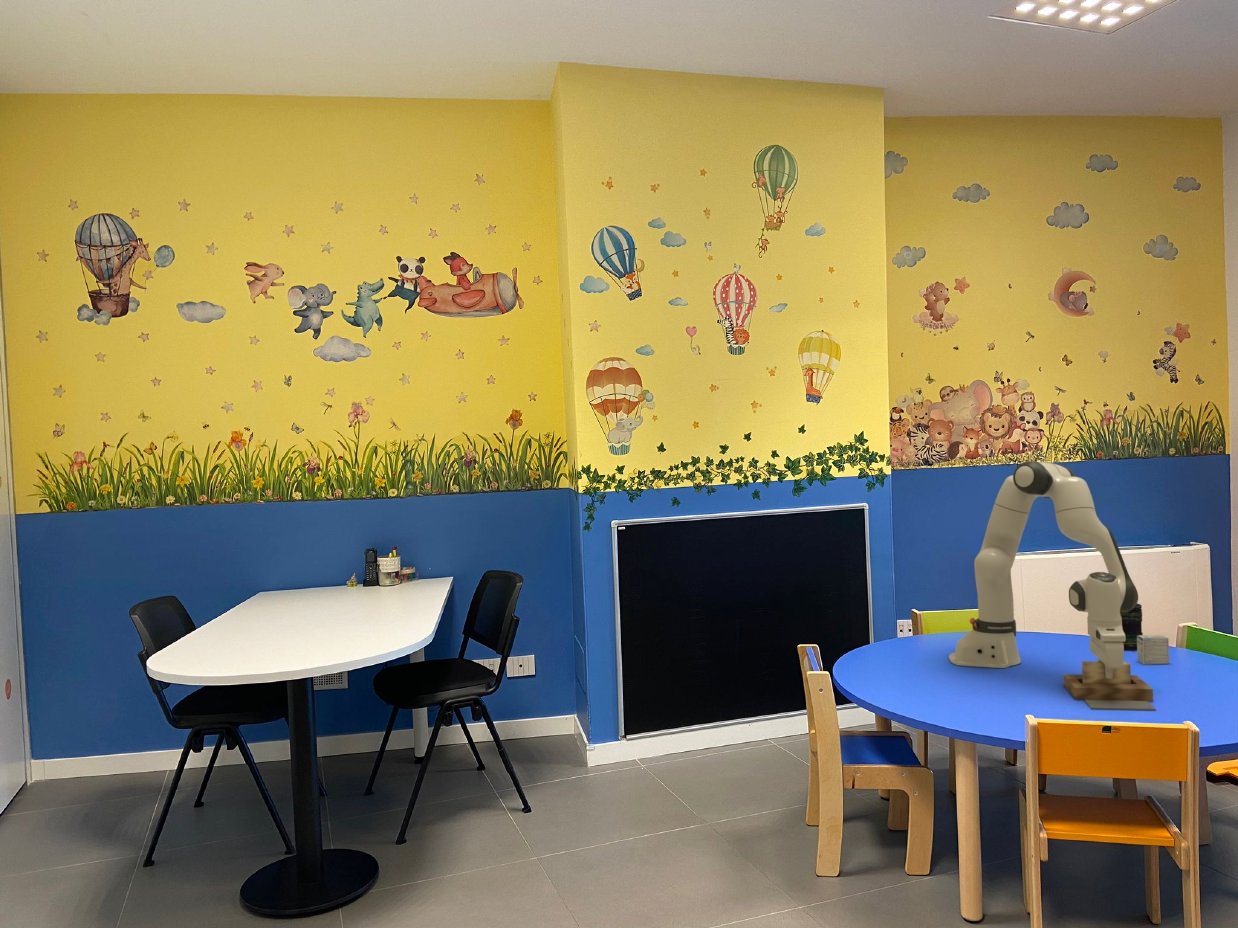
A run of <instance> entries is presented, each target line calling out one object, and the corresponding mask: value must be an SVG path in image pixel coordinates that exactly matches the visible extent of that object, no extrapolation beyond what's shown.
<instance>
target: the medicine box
mask: <svg viewBox="0 0 1238 928" xmlns="http://www.w3.org/2000/svg"><path fill="white" fill-rule="evenodd" d="M1169 640H1170V639H1169V637H1167V636H1165V635H1163V634H1149V635H1148V634H1145V635H1144V634H1143V635H1140V636H1137V651H1136V653H1137V656H1136V657H1137V662H1138V663H1140V664H1142V665H1169V664H1170V646H1169V645H1170V644H1169V643H1170V641H1169Z"/></svg>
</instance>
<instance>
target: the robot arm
mask: <svg viewBox="0 0 1238 928" xmlns="http://www.w3.org/2000/svg"><path fill="white" fill-rule="evenodd" d="M996 496H997V497H996V498H995V500H994V504H993V507H992V509H991V513H990V516H989V519H988V523H987V525H986V530H985V533H984V538H983V539H982V540H983V542H982V545H981V548H980V550H979V552H978V554H977V555H976V556H975V558H974V561H973V562H974V563H973V564H974V575H975V577H974V578H975V585H976V593H977V608H978V610H977V611H978V613H977V615H978V618H976V619H975V618H974V617H971V618H970V619H969V623H970V624H971V625H972V630H970V631H969V632H968V633H966V634H965V635H963V636H962V637H961V638H959V639H958V640H957V643H956V645H955V652H952V653H950V654H949V656H948V660H949V661H950V663H952V664H953V665H956V666H959V667H960V666H961V667H963V666H964V667H978V668H994V669H995V668H998V669H1006V668H1008V667H1011V666H1017V665H1019V664H1021V662H1022V660H1021V657H1020V654H1019V650H1018V645H1017V640H1016V637H1017V622H1016V619H1015V612H1014V611H1015V609H1014V607H1015V606H1014V605H1015V604H1014V594H1013V586H1012V585H1013V584H1012V568H1013V565H1014V562H1015V560H1016V556H1017V553H1018V549H1019V546H1020V543H1021V540H1022V536H1023V533H1024V530H1025V527H1026V525H1027V522H1028V519H1029V516H1030V514H1031V513H1030V512H1031V510H1032V506H1033V503H1034V501H1035V500H1036V499H1037V498H1039V497H1042V498H1045V499H1047V498H1048V499H1051V500H1052V503H1053V505H1054V506H1053V508H1054V515H1055V520H1056V524H1057V527H1058V529H1059V531H1060V532H1061V533H1062V535H1064V536H1065V537H1067V538H1069V539H1070V540H1072V541H1074V542H1078V543H1079V544H1083V545H1084V544H1085V545H1087V546H1090V547H1092V548H1094V549H1096V550H1097V551H1098V552H1099V553H1100V555H1101V556H1102V558H1103V562H1104V564H1105V566H1106V569H1107V572H1105V571H1096V572H1095V571H1094V572H1091V573H1089V574H1088V575H1087V576H1086V577H1087V578H1084V579H1082V580H1075V581H1074V582H1073V583H1072V584H1071V585H1070V587H1069V589H1068V601H1069V604H1070V606H1071V607H1073V608H1074V609H1075V610H1076V611H1078V612H1082V613H1087V618H1086V619H1087V621H1086V623H1087V624H1086V625H1087V635H1088V636H1089V650H1090V652H1091V653H1092V654H1093V655H1094V656H1095V657H1096V658H1097V661H1099V662H1103V663H1104V664H1105V671H1104V674H1105V675H1104V676H1105V677H1106V678H1107V679H1112V678H1113V670H1114V669H1121V668H1122V666H1123V662H1124V658H1125V656H1124V655H1125V651H1124V644H1123V642H1125V641H1126V636H1125V634H1124V632H1123V629H1122V618H1121V615H1120V612H1125V613H1127V612H1129V611H1130V610H1132V609H1133V608H1134V607H1135V605H1136V604H1138V602H1139V594H1138V593H1139V592H1138V590H1137V588H1136V587H1137V586H1136V585H1135V583H1134V582H1133V580H1132V579H1131V577H1130V574H1129V571H1128V569H1127V566H1126V564H1125V560H1124V559H1123V556H1122V554H1121V550H1120V548H1119V545H1118V543H1117V541H1116V538H1115V536H1114V534H1113V532H1112V531H1111V529H1110V528H1109V527H1106V526H1105V525H1104V524H1103V523H1102V522H1101V520H1100V519H1099V517H1098V516H1097V513H1096V507H1095V502H1094V500H1093V495H1092V494H1091V489H1090V488H1089V486H1088V483H1087V481H1086V480H1084V479H1083V478H1081V477H1079V476H1078V477H1077V476H1076V473H1074V471H1073V470H1071V469H1070V468H1069V467H1068V466H1067V467H1066V466H1064V465H1061V464H1056V463H1053V462H1048V461H1046V462H1044V461H1036V460H1029V461H1025V462H1022V463H1020V464H1018V465H1017V466H1016V468H1015V469H1014V471H1013V474H1012V475H1009V476H1008V477H1006V478H1005V480H1004V481H1003V483H1002V485H1001V487H1000V488H999V491H998V493H997V495H996Z"/></svg>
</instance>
